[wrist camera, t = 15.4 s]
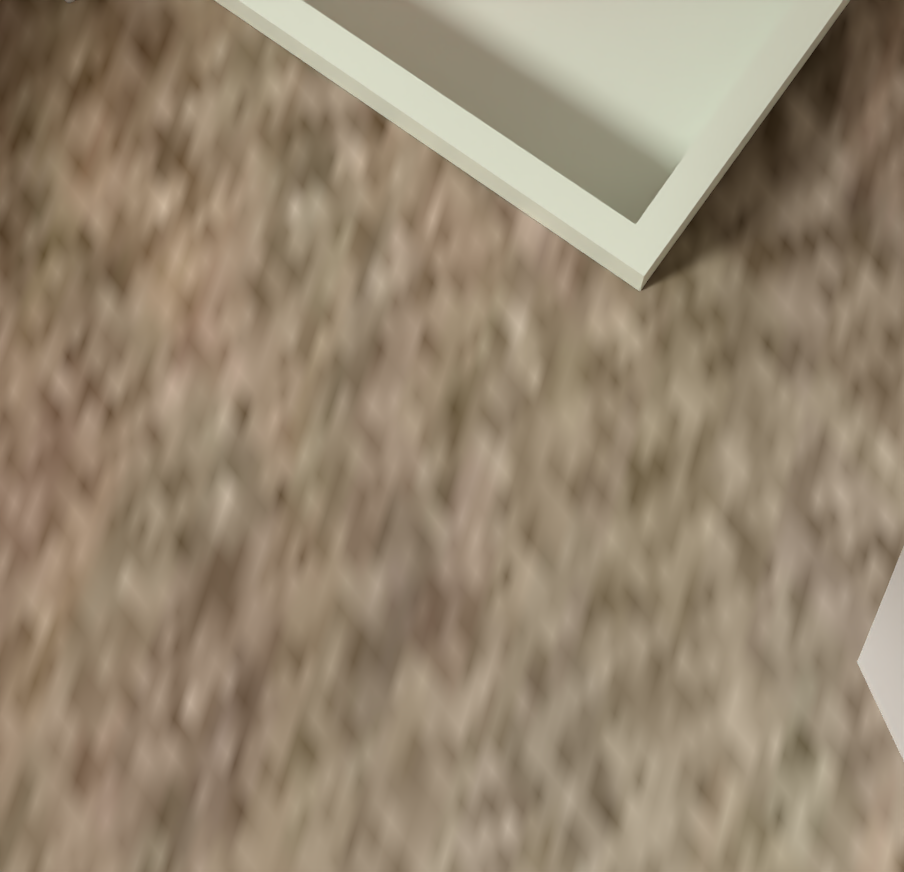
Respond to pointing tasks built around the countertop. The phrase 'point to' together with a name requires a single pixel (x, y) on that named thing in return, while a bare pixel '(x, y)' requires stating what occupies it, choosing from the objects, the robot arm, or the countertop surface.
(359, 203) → the countertop surface
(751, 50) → the tray
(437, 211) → the countertop surface
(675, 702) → the countertop surface
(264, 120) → the countertop surface
